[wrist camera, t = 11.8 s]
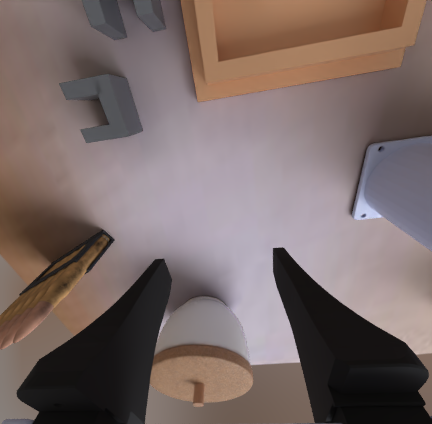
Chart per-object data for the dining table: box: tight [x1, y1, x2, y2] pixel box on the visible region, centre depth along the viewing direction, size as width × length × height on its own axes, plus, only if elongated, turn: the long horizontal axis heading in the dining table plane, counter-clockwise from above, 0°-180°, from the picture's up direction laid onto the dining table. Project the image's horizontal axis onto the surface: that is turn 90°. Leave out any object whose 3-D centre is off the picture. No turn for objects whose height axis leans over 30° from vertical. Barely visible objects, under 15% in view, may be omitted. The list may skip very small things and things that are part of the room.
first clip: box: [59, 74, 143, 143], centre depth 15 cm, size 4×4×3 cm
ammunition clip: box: [0, 230, 114, 350], centre depth 20 cm, size 11×2×12 cm, turn 123°
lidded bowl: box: [150, 296, 253, 407], centre depth 26 cm, size 13×13×11 cm
